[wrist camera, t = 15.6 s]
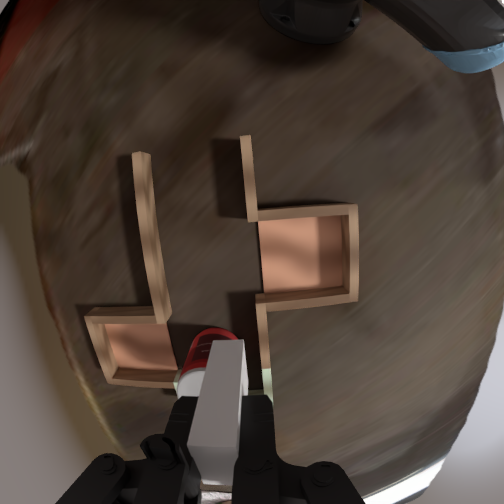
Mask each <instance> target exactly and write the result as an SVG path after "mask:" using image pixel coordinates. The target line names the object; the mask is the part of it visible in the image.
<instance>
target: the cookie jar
mask: <svg viewBox="0 0 504 504" xmlns="http://www.w3.org/2000/svg"><path fill="white" fill-rule="evenodd" d="M201 492H202V499H201V504H231V498H232V493H224V492H216V491H202V490H201Z"/></svg>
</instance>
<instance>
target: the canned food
mask: <svg viewBox="0 0 504 504" xmlns="http://www.w3.org/2000/svg"><path fill="white" fill-rule="evenodd" d="M213 340H238V338H237V337H236V336H235V335H234V334H233V333H231V332H230V331H228V330H226V329H223V328H208V329H206V330H203V331H202V332H201V333H199V334H198V335H197V336H196V337H195V338H194V340H193V342H192V345H191V347H190V350H189V353H188V355H187V358H186V361H185V363H184V366H183V369H182V371H181V374H180V377H179V380H178V384H177V396H178V399H179V398H180V397H181V396H199V394H200V390H201V386H202V382H203V378H204V374H205V370H206V366H207V362H208V358H209V354H210V350H211V347H212V343H213Z"/></svg>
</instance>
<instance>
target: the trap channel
mask: <svg viewBox="0 0 504 504" xmlns="http://www.w3.org/2000/svg"><path fill="white" fill-rule="evenodd" d="M240 142H241V153H242V164H243V175H244V185H245V196H246V207H247V217H248V222H257V221H258V226H259V238H260V249H261V261H262V273H263V284H264V293H260V294H255V299H256V313H257V323H258V334H259V344H260V355H261V365H262V376H263V386H264V389H260V390H248V395H266V394H267V395H268V397H269V398H270V400H271V401H272V402H273V394H272V381H271V367H270V354H269V341H268V329H267V316H266V312H270V311H281V310H290V309H300V308H309V307H317V306H325V305H333V304H341V303H348V302H355V301H358V285H359V231H358V205H357V204H354V203H333V204H317V205H302V206H288V207H275V208H263V209H257V199H256V188H255V178H254V167H253V156H252V146H251V135H248V136H240ZM132 162H133V175H134V187H135V197H136V206H137V214H138V222H139V229H140V236H141V243H142V249H143V256H144V261H145V267H146V273H147V278H148V283H149V288H150V293H151V298H152V303H153V306H134V307H94V308H93V309H92V310H91V311H90V312H88V313H87V314H86V315H85V316H84V318H85V321H86V325H87V328H88V331H89V334H90V337H91V340H92V343H93V346H94V349H95V351H96V354H97V357H98V360H99V362H100V365H101V367H102V370H103V372H104V375H105V377H106V380H107V382H108V384H116V385H126V386H138V387H153V388H175V390H176V393H177V384H178V380H179V377H180V374H181V371H182V369H178V367H177V363H176V359H175V356H174V352H173V348H172V344H171V340H170V335H169V331H168V327H167V320H168V319H169V317H170V316H171V314H172V309H171V304H170V299H169V294H168V289H167V283H166V277H165V272H164V266H163V260H162V253H161V247H160V240H159V233H158V225H157V217H156V209H155V200H154V190H153V180H152V168H151V155H150V154H147V153H144V152H141V151H140V152H136V153H132Z"/></svg>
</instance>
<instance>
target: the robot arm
mask: <svg viewBox="0 0 504 504" xmlns="http://www.w3.org/2000/svg"><path fill="white" fill-rule="evenodd" d="M365 1H366V2H368V3H369V4H370V5H372V6H373V7H375V8H376V9H378V10H379V11H381V12H382V13H383V14H385V15H386V16H388V17H389V18H390V19H392V20H393V21H394V22H396V23H397V24H398V25H399V26H401V27H402V28H403V29H404V30H406V31H407V32H408V33H409V34H410V35H412V36H413V37H414V38H415V39H416V40H417V41H419V42H420V43H421V44H422V45H423V47H424V48H425V49H426V50H427V51H429V52H431V53H433V54H434V55H435V56H436V57H437V58H438V59H439V60H441V61H442V62H443V63H444V64H445V65H446V66H447V67H449V68H450V69H452V70H454V71H458V72H461V73H476V72H481V71H484V70H487V69H490V68H492V67H495V66H497V65H499V64H500V63H502V62H504V0H365ZM259 8H260V11H261V14H262V15H263V17H264V19H265V20H266V21H267V22H268V23H269V24H270V25H271V26H272V27H273V28H274V29H276V30H277V31H279V32H280V33H282V34H284V35H286V36H288V37H291V38H293V39H296V40H299V41H303V42H307V43H314V44H331V43H336V42H340V41H342V40H345V39H346V38H348V37H349V36H351V35H352V34H353V32H354V31H355V30H356V28H357V27H358V25H359V23H360V21H361V17H362V0H259ZM140 447H141V449H142V450H143V452H144V454H145V456H146V457H147V458H146V459H142V460H133V461H124V460H123V459H122V458H121V457H120V456H118V455H115V454H112V453H109V454H108V453H106V454H102V455H100V456H98V457H97V458H96V459H94V460H93V461H92V463H91V464H90V465H89V466H88V467H87V468H86V469H85V471H84V472H83V473H82V474H81V475H80V476H79V477H78V479H77V480H76V481H75V482H74V483H73V484H72V485H71V486H70V488H69V489H68V490H67V491H66V492H65V493H64V494H63V496H62V497H61V498H60V499H59V500H58V501H57V502H56V503H55V504H201V499H202V492H201V490H200V482H201V479H202V481H203V483H204V484H214V485H232V498H231V504H365V502H364V501H363V499H362V498H361V496H360V495H359V493H358V492H357V490H356V489H355V487H354V486H353V484H352V482H351V481H350V479H349V478H348V476H347V475H346V473H345V471H344V470H343V469H342V468H341V467H340V466H339V465H337V464H335V463H333V462H326V461H322V462H316V463H314V464H312V465H310V466H308V467H301V466H295V465H291V464H288V463H286V462H284V461H283V460H282V459H280V458H279V456H278V455H277V452H276V444H275V429H274V415H273V402H272V401H271V400H270V398H269V397H268V395H267V394H266V395H248V375H247V366H246V357H245V347H244V339H241V340H213V343H212V347H211V350H210V354H209V358H208V362H207V366H206V370H205V374H204V378H203V382H202V386H201V390H200V394H199V396H181V397H180V398H179V399H178V400H177V401H176V402H175V403H174V406H173V409H172V411H171V414H170V417H169V421H168V423H167V426H166V429H165V432H164V434H154V435H151V436H148V437H147V438H146V439H144V440H143V441H142V443H141V444H140Z"/></svg>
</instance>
